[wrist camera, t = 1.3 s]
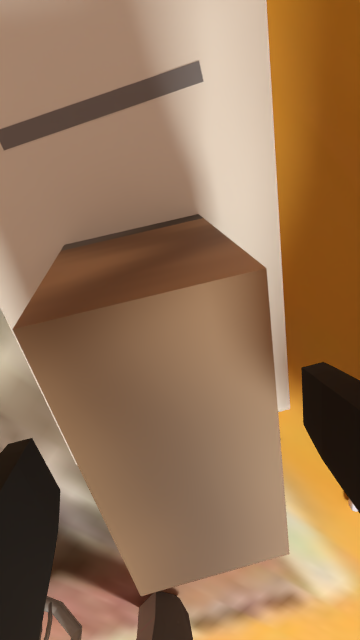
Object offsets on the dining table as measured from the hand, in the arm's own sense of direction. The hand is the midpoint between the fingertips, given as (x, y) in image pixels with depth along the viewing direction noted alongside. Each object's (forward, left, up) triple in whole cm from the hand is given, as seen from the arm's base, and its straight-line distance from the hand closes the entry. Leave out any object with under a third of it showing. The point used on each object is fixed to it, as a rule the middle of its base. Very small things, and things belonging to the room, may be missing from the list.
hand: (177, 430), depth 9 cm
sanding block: (0, 0, -5) cm, 5 cm away
